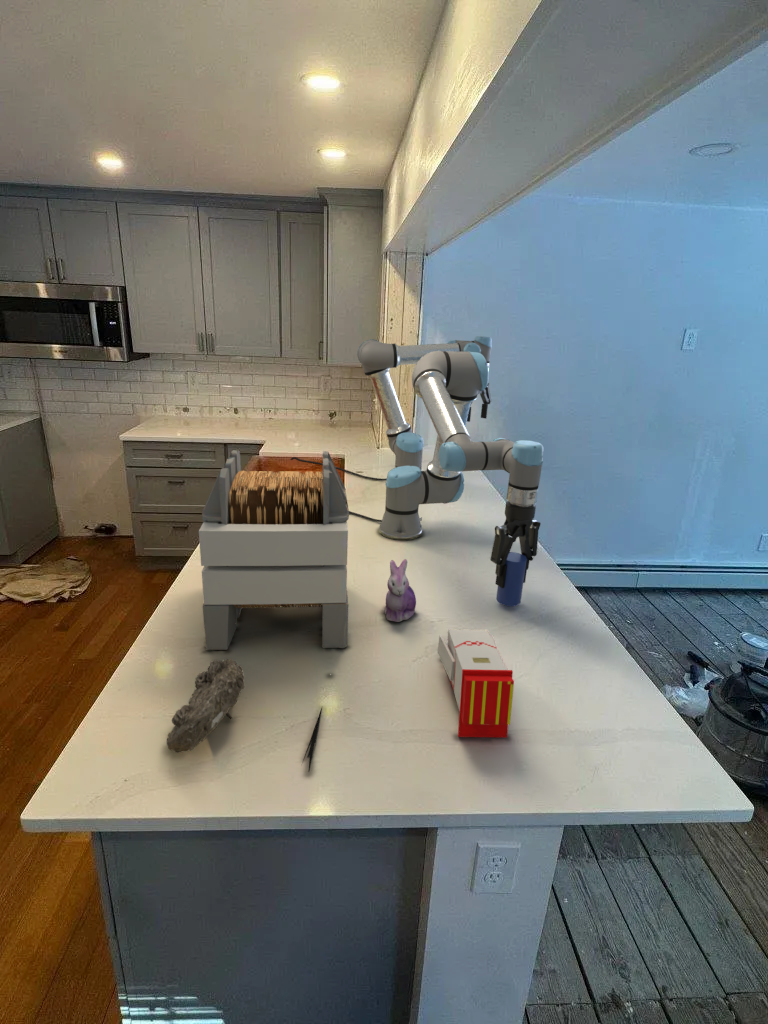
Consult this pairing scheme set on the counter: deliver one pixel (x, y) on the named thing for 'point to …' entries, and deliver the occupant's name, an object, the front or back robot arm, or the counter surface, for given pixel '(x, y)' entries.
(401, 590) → the figurine
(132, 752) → the counter surface
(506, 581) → the can
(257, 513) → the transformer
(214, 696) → the fossil
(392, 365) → the back robot arm
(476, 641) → the toy
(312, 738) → the feather
